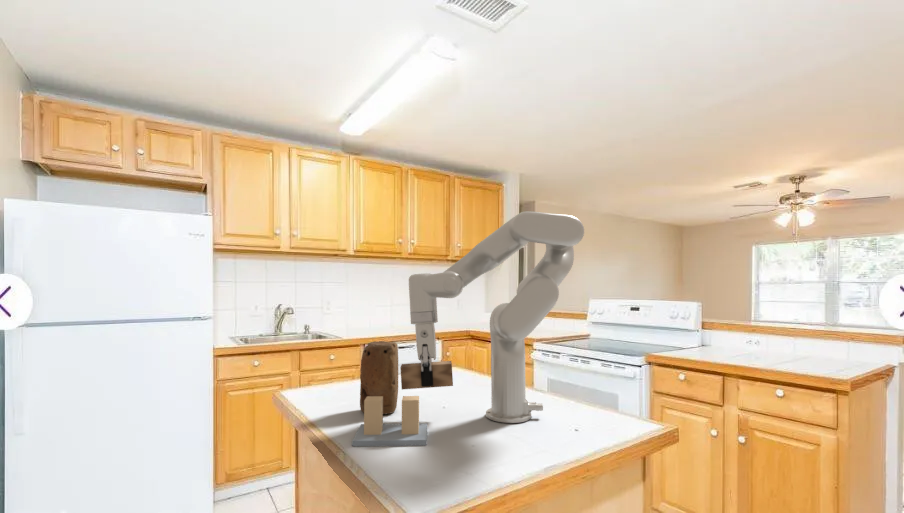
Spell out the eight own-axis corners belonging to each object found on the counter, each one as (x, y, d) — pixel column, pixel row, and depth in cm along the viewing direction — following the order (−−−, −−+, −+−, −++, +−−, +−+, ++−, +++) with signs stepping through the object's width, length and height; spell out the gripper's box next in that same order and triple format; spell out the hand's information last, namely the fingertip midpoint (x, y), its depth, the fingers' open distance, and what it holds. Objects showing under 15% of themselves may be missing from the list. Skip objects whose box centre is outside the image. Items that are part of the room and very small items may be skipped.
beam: (452, 382, 125) (451, 360, 126) (453, 385, 121) (451, 363, 121) (402, 385, 125) (401, 364, 125) (401, 389, 120) (400, 367, 121)
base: (427, 428, 114) (427, 391, 115) (426, 445, 102) (426, 404, 103) (361, 428, 114) (361, 392, 114) (352, 446, 102) (352, 405, 102)
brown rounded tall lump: (399, 408, 132) (400, 341, 133) (393, 416, 125) (394, 344, 126) (364, 407, 133) (365, 340, 134) (356, 415, 126) (357, 343, 127)
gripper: (437, 319, 116) (441, 390, 115) (437, 314, 133) (440, 376, 132) (408, 321, 115) (412, 392, 114) (412, 316, 132) (415, 378, 131)
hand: (427, 383), depth 123 cm, fingers closed on beam, 4 cm apart
